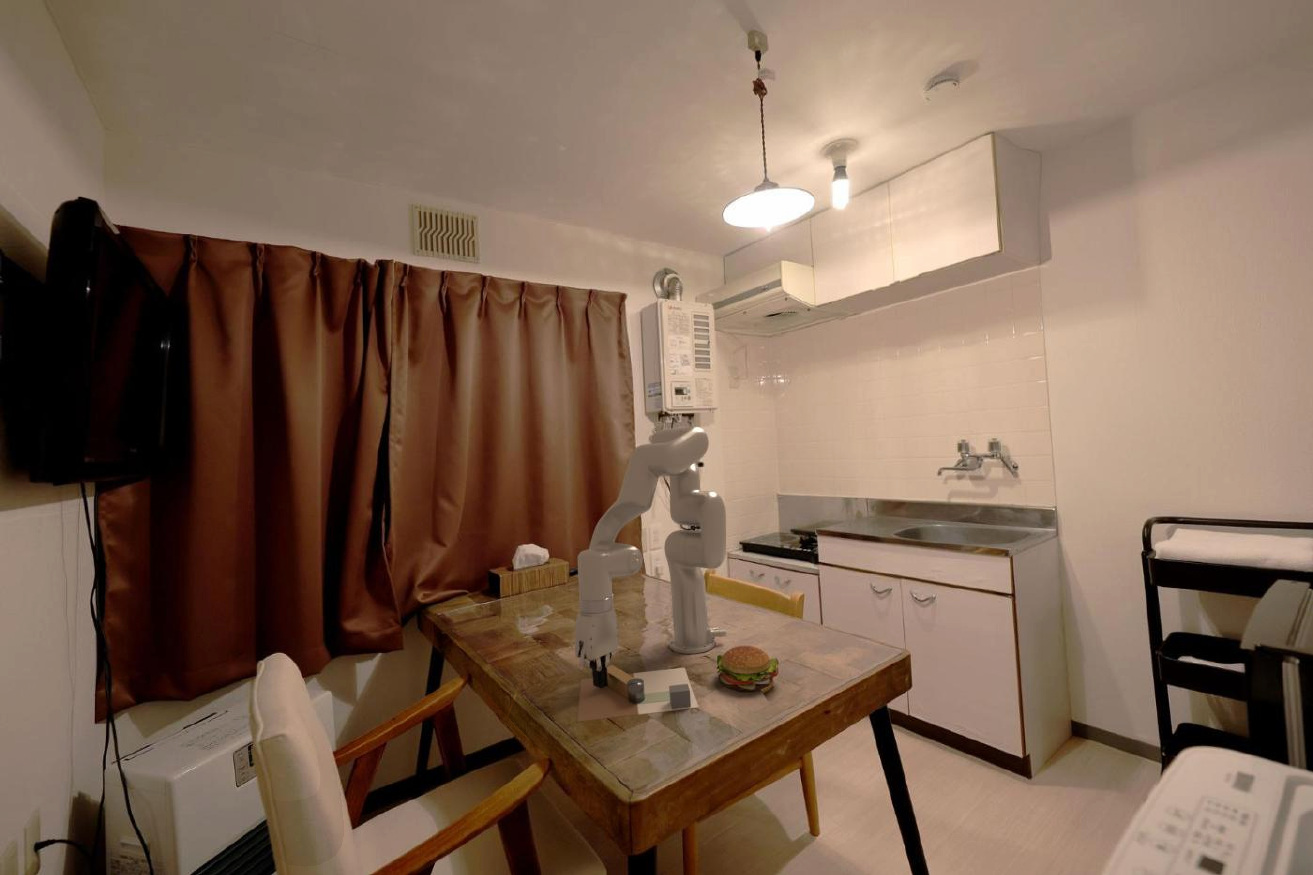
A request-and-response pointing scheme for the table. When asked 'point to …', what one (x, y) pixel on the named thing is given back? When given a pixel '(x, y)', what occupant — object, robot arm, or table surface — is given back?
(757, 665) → the food
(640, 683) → the bar
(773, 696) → the table surface
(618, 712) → the door panel
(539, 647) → the table surface
